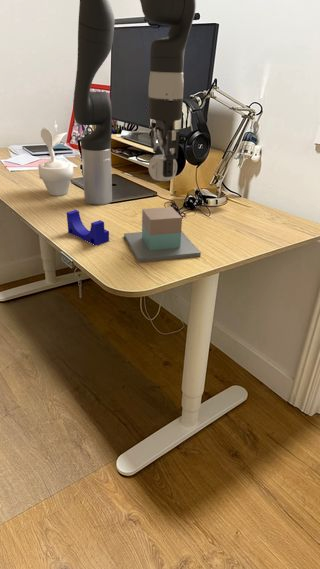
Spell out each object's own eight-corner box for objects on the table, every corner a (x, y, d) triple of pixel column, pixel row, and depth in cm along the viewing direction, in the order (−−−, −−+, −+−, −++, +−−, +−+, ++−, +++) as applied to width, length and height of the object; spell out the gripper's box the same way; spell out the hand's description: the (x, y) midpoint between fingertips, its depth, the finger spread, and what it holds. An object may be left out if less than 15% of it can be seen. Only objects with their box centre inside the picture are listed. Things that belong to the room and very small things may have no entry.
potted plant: (56, 200, 133) (48, 120, 120) (34, 193, 139) (24, 116, 126) (84, 192, 142) (79, 117, 129) (62, 186, 148) (55, 113, 135)
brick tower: (124, 236, 108) (123, 204, 104) (179, 232, 112) (181, 201, 108) (138, 262, 95) (138, 227, 91) (200, 256, 99) (203, 222, 95)
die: (148, 178, 94) (148, 157, 92) (159, 174, 98) (160, 153, 96) (165, 182, 92) (166, 160, 90) (176, 178, 96) (178, 156, 93)
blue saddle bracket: (109, 241, 106) (108, 220, 103) (95, 246, 103) (94, 224, 100) (81, 229, 113) (80, 208, 110) (68, 233, 110) (66, 212, 107)
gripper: (140, 92, 91) (140, 165, 99) (158, 98, 79) (156, 181, 87) (171, 92, 93) (168, 164, 101) (193, 99, 81) (188, 180, 89)
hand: (162, 172), depth 94 cm, fingers closed on die, 7 cm apart
